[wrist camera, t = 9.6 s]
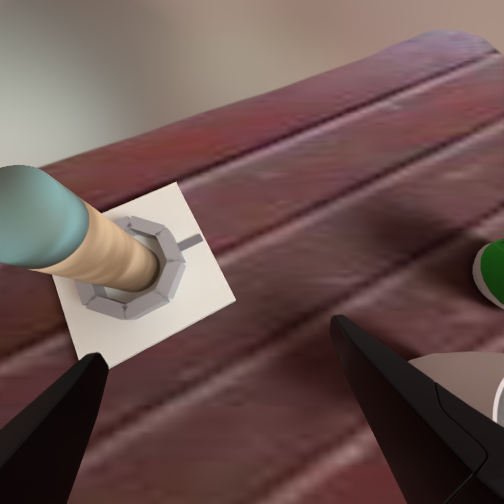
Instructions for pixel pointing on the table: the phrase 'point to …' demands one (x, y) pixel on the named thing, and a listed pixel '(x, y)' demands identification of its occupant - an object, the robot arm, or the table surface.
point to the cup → (469, 378)
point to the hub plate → (158, 294)
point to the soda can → (490, 272)
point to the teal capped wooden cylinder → (67, 235)
